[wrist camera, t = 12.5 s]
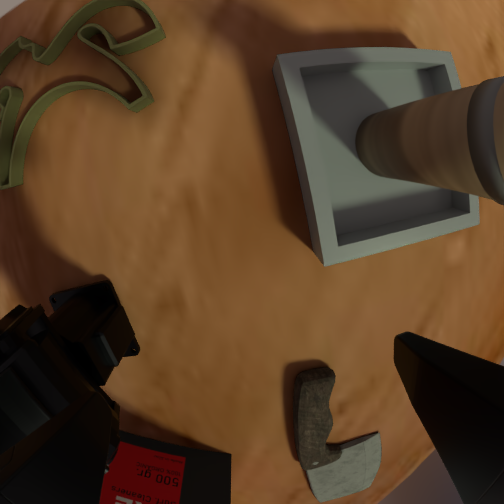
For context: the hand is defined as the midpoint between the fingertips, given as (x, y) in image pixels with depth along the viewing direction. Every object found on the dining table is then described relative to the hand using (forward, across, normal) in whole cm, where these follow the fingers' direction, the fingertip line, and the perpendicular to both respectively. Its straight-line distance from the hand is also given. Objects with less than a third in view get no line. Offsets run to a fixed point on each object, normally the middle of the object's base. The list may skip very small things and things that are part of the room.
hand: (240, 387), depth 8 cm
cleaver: (+14, -5, +26) cm, 30 cm away
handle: (+12, -11, -5) cm, 17 cm away
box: (+13, -11, -5) cm, 18 cm away
